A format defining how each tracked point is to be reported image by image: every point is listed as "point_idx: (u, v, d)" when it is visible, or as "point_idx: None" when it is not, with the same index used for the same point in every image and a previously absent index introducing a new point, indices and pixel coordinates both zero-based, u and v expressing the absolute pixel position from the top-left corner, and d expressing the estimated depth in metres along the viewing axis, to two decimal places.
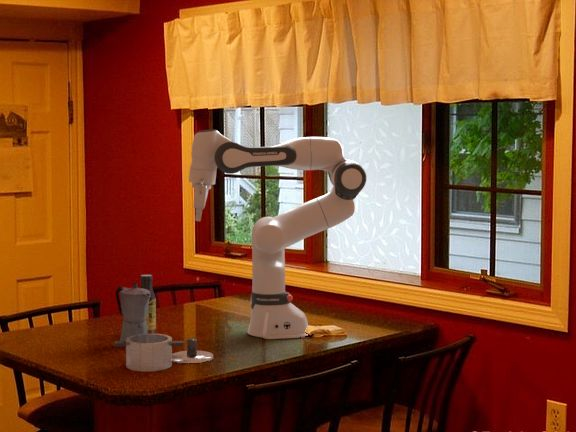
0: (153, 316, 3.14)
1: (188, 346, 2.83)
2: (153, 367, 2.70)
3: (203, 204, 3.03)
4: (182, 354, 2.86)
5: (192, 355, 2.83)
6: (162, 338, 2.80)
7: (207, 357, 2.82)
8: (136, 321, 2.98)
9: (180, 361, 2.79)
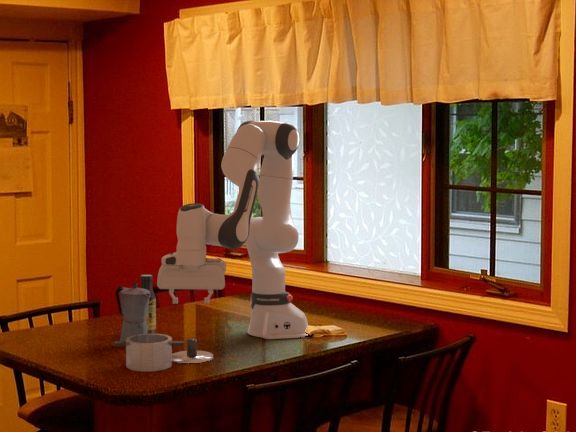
0: (153, 316, 3.14)
1: (188, 346, 2.83)
2: (153, 367, 2.70)
3: None
4: (182, 354, 2.86)
5: (192, 355, 2.83)
6: (162, 338, 2.80)
7: (207, 357, 2.82)
8: (136, 321, 2.98)
9: (180, 361, 2.79)
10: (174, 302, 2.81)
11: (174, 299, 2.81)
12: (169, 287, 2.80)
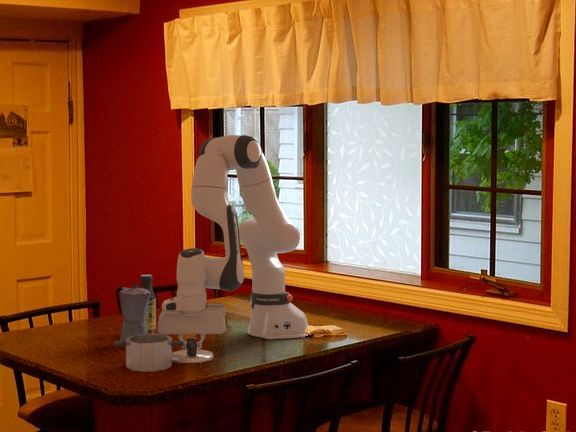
0: (153, 316, 3.14)
1: (188, 345, 2.83)
2: (153, 367, 2.70)
3: None
4: (182, 353, 2.86)
5: (192, 354, 2.83)
6: (162, 338, 2.80)
7: (207, 356, 2.82)
8: (136, 321, 2.98)
9: (180, 360, 2.79)
10: (183, 347, 2.83)
11: None
12: (170, 332, 2.82)
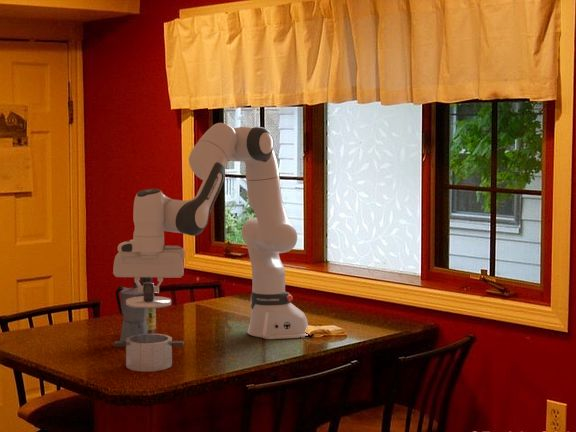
0: (153, 316, 3.14)
1: (145, 290, 2.73)
2: (153, 367, 2.70)
3: (183, 271, 2.75)
4: (139, 299, 2.75)
5: (148, 300, 2.73)
6: (162, 338, 2.80)
7: (164, 301, 2.72)
8: (136, 321, 2.98)
9: (135, 304, 2.68)
10: (139, 291, 2.73)
11: (140, 288, 2.73)
12: (126, 275, 2.71)
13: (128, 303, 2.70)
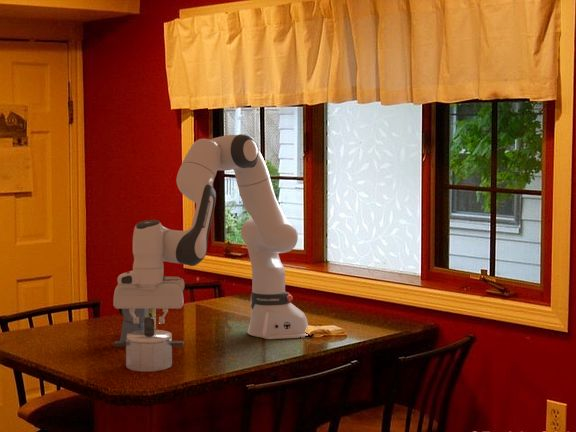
0: (153, 316, 3.14)
1: (145, 325, 2.74)
2: (153, 367, 2.70)
3: (183, 301, 2.76)
4: (139, 333, 2.77)
5: (149, 334, 2.74)
6: None
7: (165, 336, 2.73)
8: None
9: (136, 340, 2.69)
10: (134, 322, 2.74)
11: (135, 319, 2.74)
12: (126, 307, 2.72)
13: (129, 338, 2.71)
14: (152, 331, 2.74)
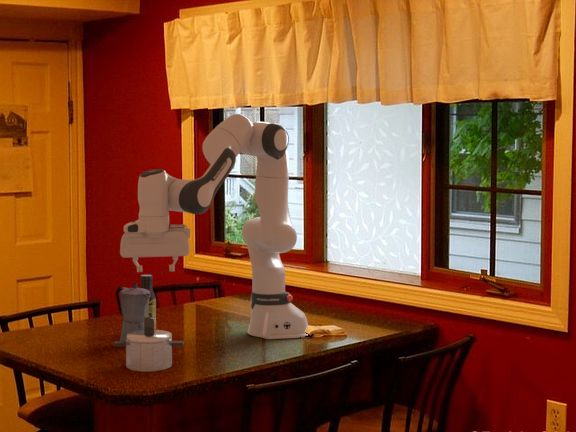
0: (153, 316, 3.14)
1: (145, 325, 2.74)
2: (153, 367, 2.70)
3: (189, 249, 2.79)
4: (139, 333, 2.77)
5: (149, 334, 2.74)
6: None
7: (165, 336, 2.73)
8: (136, 321, 2.98)
9: (136, 340, 2.69)
10: (138, 271, 2.76)
11: (138, 267, 2.76)
12: (132, 255, 2.75)
13: (129, 338, 2.71)
14: (152, 331, 2.74)
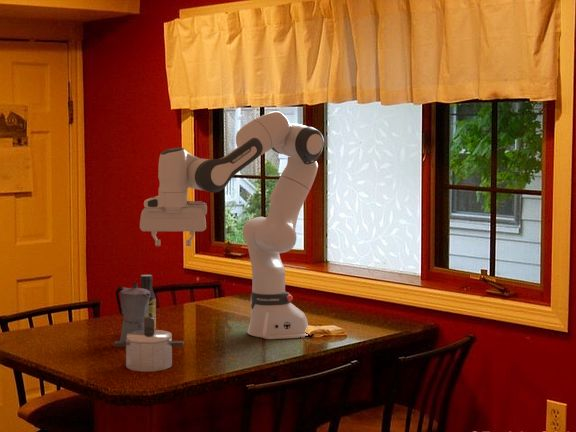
0: (153, 316, 3.14)
1: (145, 325, 2.74)
2: (153, 367, 2.70)
3: None
4: (139, 333, 2.77)
5: (149, 334, 2.74)
6: None
7: (165, 336, 2.73)
8: (136, 321, 2.98)
9: (136, 340, 2.69)
10: (156, 244, 2.89)
11: (157, 241, 2.88)
12: (151, 229, 2.87)
13: (129, 338, 2.71)
14: (152, 331, 2.74)
